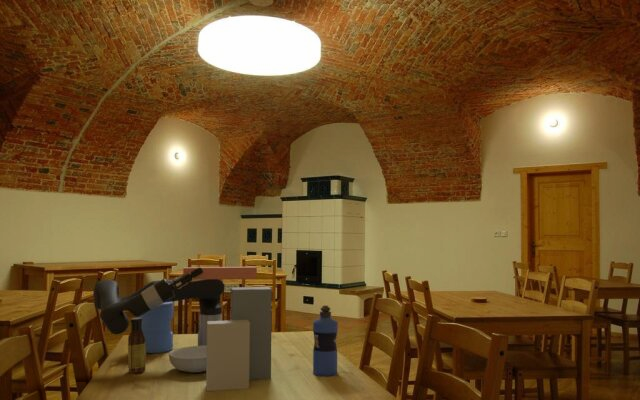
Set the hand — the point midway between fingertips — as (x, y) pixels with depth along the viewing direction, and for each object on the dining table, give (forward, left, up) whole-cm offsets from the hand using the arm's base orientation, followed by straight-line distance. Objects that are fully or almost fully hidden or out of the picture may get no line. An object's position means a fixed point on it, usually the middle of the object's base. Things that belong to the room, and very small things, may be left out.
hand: (201, 269), depth 194 cm
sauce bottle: (-29, -2, -39) cm, 49 cm away
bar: (+5, +4, -3) cm, 7 cm away
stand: (+13, +5, -39) cm, 42 cm away
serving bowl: (-11, +11, -40) cm, 42 cm away
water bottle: (+35, +29, -39) cm, 60 cm away
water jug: (-49, +28, -39) cm, 68 cm away
